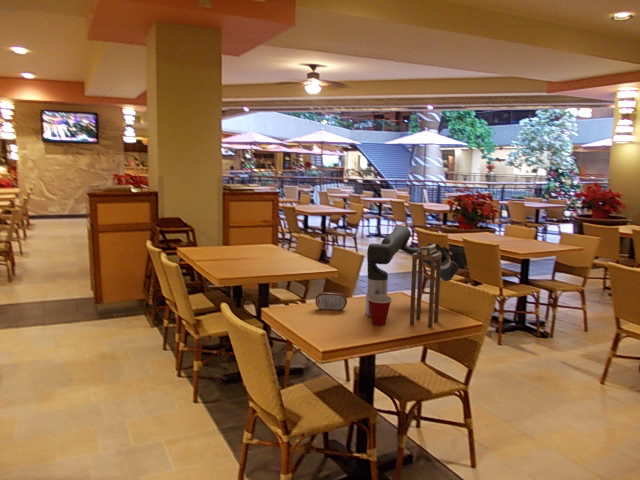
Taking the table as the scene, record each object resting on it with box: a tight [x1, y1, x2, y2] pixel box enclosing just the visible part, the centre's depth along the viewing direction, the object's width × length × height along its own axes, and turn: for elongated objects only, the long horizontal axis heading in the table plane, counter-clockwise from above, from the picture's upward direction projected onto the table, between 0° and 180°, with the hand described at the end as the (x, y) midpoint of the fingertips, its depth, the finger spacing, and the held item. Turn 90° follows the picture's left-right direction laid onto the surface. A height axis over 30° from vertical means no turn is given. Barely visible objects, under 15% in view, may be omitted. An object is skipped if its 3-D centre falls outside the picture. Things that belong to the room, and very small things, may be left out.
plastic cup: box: [367, 294, 393, 327], centre depth 230 cm, size 11×11×12 cm
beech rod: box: [419, 243, 437, 255], centre depth 233 cm, size 3×18×3 cm, turn 151°
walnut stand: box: [409, 250, 442, 328], centre depth 232 cm, size 10×10×32 cm
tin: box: [314, 291, 348, 312], centre depth 252 cm, size 15×3×8 cm, turn 84°
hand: (433, 244), depth 237 cm, fingers closed on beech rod, 2 cm apart
